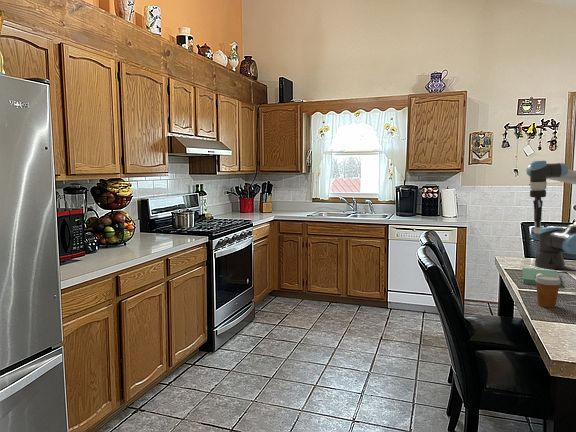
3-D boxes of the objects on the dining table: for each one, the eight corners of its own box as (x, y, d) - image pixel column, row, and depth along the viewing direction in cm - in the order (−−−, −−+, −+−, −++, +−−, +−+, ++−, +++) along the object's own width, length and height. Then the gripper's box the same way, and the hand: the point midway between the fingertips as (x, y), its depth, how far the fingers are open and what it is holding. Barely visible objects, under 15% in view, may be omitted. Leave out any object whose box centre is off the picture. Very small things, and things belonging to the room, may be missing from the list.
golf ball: (538, 281, 224) (539, 273, 224) (546, 281, 220) (546, 274, 221) (533, 280, 222) (534, 272, 222) (541, 281, 219) (541, 273, 219)
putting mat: (522, 272, 241) (522, 268, 241) (556, 275, 234) (556, 270, 234) (523, 283, 218) (523, 278, 218) (560, 287, 211) (561, 282, 211)
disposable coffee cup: (563, 309, 179) (565, 280, 178) (538, 308, 181) (539, 280, 180) (554, 302, 188) (555, 275, 187) (530, 301, 190) (531, 274, 189)
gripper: (528, 189, 241) (528, 231, 244) (531, 190, 229) (531, 235, 232) (544, 188, 238) (543, 231, 241) (548, 190, 226) (547, 235, 229)
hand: (537, 233), depth 236 cm, fingers closed
